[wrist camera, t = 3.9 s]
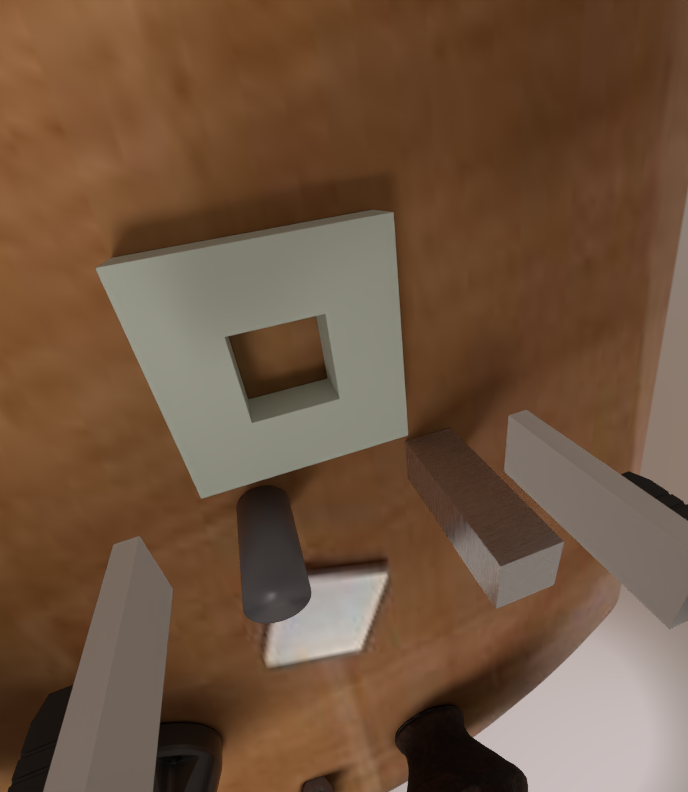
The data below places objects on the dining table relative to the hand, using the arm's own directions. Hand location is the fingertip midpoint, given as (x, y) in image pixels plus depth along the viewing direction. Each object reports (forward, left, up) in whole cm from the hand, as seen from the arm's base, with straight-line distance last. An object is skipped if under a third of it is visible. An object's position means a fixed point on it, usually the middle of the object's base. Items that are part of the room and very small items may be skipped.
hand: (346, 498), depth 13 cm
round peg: (-4, -11, -13) cm, 18 cm away
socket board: (0, +1, -13) cm, 13 cm away
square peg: (+10, -11, -13) cm, 20 cm away
